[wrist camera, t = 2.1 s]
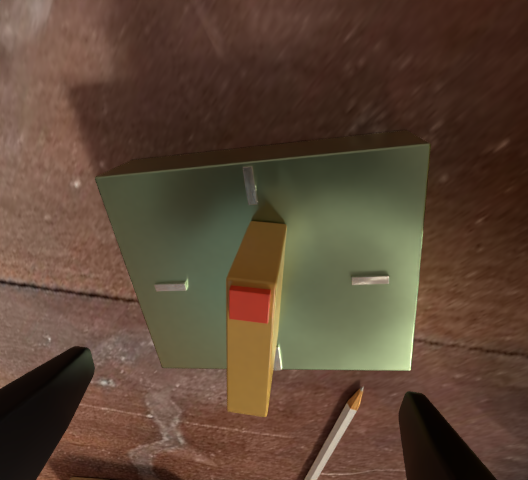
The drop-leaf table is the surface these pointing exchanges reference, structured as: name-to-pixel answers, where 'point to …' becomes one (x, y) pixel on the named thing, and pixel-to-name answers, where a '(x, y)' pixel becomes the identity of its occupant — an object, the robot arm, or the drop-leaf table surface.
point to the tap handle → (254, 317)
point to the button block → (80, 479)
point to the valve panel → (296, 248)
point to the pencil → (335, 435)
